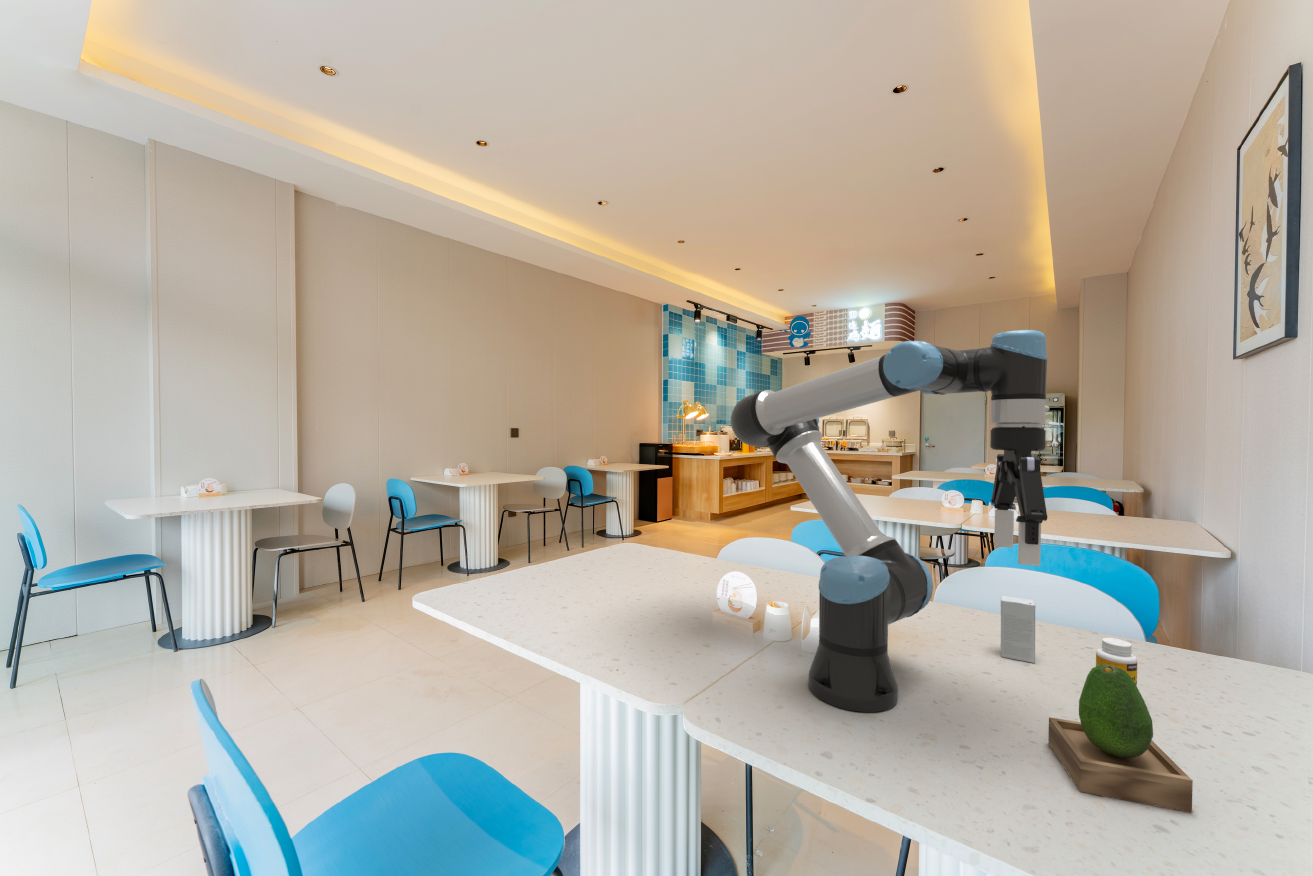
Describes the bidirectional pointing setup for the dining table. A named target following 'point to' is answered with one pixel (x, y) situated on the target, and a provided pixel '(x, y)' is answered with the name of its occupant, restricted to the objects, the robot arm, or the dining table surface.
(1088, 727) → the avocado
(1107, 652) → the supplement bottle
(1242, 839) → the dining table surface
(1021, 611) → the skincare box
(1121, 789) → the wooden tray
